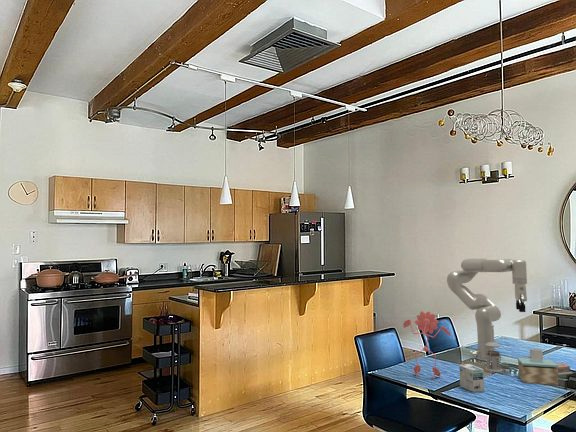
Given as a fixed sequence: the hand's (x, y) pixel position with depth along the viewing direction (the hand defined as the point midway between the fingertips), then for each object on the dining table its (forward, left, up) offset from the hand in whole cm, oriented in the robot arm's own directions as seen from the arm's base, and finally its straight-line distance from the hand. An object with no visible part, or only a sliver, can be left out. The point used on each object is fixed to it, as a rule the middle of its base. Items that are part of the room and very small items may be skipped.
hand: (520, 310), depth 265 cm
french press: (-17, -10, -32) cm, 38 cm away
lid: (+3, -24, -24) cm, 34 cm away
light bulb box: (-31, -48, -33) cm, 66 cm away
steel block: (+3, -24, -23) cm, 33 cm away
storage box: (+3, -24, -32) cm, 40 cm away
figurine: (-52, -31, -32) cm, 69 cm away
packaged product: (+14, -8, -33) cm, 36 cm away
